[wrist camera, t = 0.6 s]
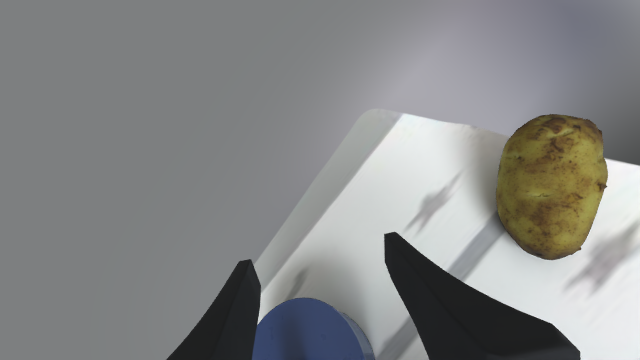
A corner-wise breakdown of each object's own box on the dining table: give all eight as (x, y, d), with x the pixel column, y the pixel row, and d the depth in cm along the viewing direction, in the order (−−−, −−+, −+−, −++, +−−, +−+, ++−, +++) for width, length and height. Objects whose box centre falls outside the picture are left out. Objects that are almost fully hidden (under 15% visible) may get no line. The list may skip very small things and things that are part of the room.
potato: (462, 230, 27) (469, 198, 21) (510, 145, 30) (528, 95, 23) (559, 275, 22) (606, 250, 16) (605, 168, 25) (661, 111, 18)
